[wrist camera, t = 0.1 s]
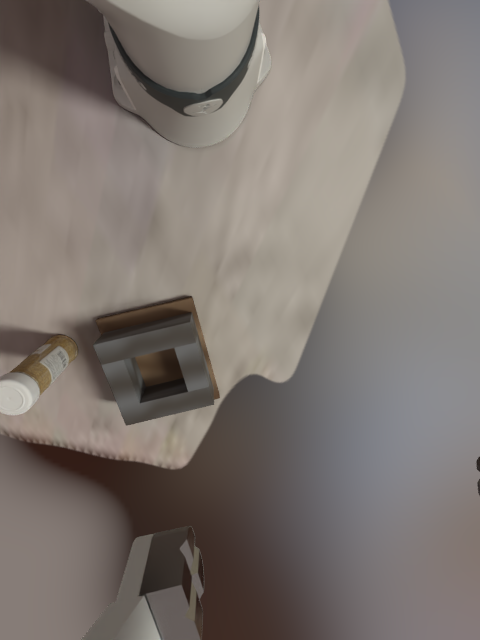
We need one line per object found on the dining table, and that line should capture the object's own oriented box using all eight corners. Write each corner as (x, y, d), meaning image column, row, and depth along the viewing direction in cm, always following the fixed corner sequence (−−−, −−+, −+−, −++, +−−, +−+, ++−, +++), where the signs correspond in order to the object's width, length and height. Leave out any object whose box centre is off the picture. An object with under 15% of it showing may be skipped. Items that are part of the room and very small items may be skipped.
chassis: (97, 318, 46) (83, 332, 41) (192, 296, 46) (189, 306, 41) (135, 414, 52) (127, 437, 46) (219, 394, 52) (220, 415, 47)
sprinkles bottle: (46, 332, 46) (-17, 378, 33) (79, 336, 47) (30, 382, 34) (47, 360, 47) (-13, 415, 35) (79, 364, 48) (32, 418, 35)
